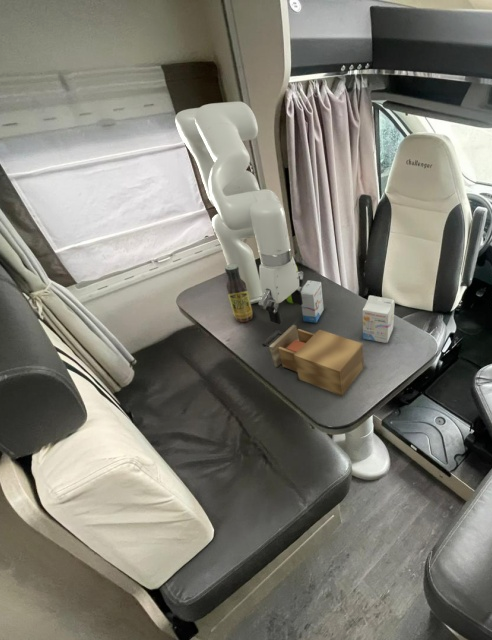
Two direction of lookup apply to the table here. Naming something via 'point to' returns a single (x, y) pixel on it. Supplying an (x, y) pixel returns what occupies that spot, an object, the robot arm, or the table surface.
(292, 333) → the drawer
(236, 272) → the sauce bottle
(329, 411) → the table surface
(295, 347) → the block
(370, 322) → the ink box
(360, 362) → the cabinet
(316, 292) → the ink box
